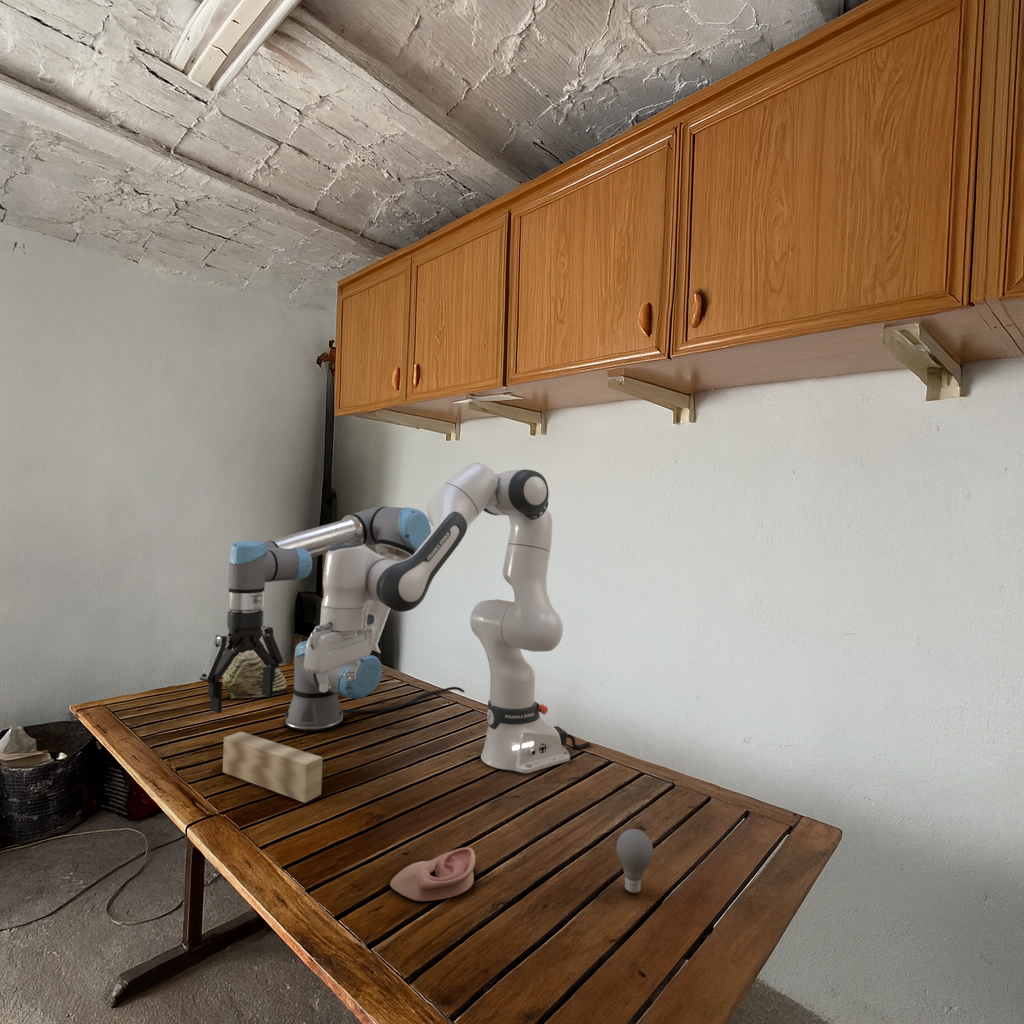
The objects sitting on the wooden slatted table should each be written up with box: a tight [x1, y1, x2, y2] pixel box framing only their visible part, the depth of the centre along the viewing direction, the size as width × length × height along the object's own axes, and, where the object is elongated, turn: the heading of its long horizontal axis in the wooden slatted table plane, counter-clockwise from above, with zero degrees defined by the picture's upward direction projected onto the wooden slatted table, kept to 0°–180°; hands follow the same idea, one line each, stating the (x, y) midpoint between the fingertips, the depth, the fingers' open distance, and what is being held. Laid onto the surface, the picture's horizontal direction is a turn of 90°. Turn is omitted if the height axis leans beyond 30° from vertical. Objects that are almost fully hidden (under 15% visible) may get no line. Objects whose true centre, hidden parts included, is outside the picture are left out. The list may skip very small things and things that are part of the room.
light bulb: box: [615, 828, 654, 894], centre depth 106 cm, size 6×6×10 cm
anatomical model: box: [389, 846, 476, 902], centre depth 106 cm, size 13×4×12 cm
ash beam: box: [222, 731, 323, 804], centre depth 139 cm, size 26×4×8 cm, turn 61°
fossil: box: [222, 650, 288, 699], centre depth 198 cm, size 9×18×15 cm, turn 132°
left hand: (242, 703), depth 144 cm, fingers open, 13 cm apart
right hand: (338, 685), depth 132 cm, fingers open, 8 cm apart
